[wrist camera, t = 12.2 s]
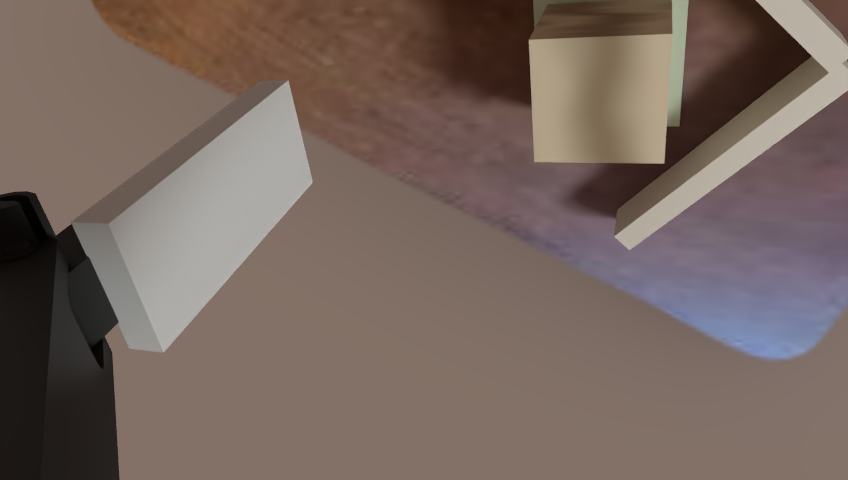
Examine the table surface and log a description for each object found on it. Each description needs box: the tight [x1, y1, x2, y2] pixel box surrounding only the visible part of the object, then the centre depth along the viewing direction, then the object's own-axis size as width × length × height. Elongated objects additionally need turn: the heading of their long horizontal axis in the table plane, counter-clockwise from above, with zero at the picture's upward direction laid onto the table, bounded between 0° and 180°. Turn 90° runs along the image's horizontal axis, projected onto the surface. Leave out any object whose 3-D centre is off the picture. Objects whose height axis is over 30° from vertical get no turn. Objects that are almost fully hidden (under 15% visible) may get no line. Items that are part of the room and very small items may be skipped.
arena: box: [533, 0, 848, 250], centre depth 46 cm, size 18×19×4 cm
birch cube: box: [529, 0, 673, 164], centre depth 45 cm, size 8×8×8 cm
